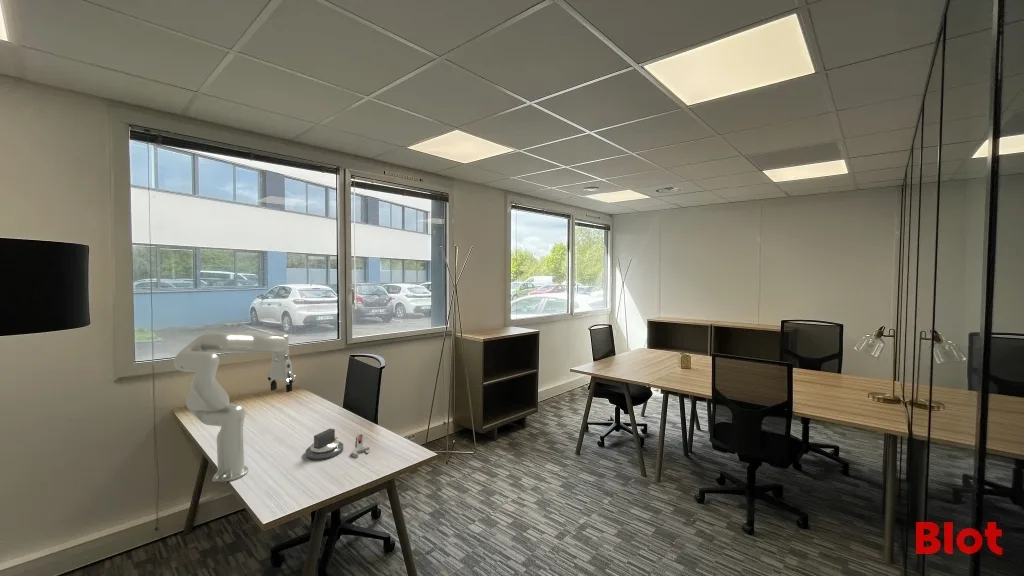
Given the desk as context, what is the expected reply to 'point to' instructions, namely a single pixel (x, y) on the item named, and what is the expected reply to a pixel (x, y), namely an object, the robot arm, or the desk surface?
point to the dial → (324, 442)
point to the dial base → (324, 455)
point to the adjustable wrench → (360, 446)
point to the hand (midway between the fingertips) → (281, 390)
